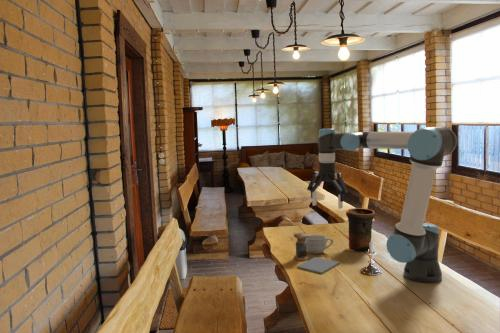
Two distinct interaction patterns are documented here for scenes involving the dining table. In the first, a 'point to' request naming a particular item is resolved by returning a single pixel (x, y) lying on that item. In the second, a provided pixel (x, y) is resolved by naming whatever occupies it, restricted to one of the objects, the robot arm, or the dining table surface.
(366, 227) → the vessel
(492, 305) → the dining table surface
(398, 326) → the dining table surface
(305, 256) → the brown rounded upright piece
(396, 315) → the dining table surface
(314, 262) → the pad
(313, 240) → the teacup
